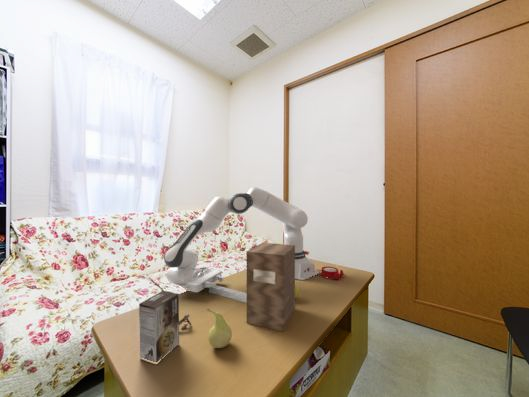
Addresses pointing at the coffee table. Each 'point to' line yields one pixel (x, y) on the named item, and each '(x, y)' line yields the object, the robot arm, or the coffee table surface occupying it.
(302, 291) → the coffee table surface
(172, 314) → the coffee box
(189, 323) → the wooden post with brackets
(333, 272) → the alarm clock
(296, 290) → the tennis ball
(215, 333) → the fruit
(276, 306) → the brown patterned box
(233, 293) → the aluminium bar
